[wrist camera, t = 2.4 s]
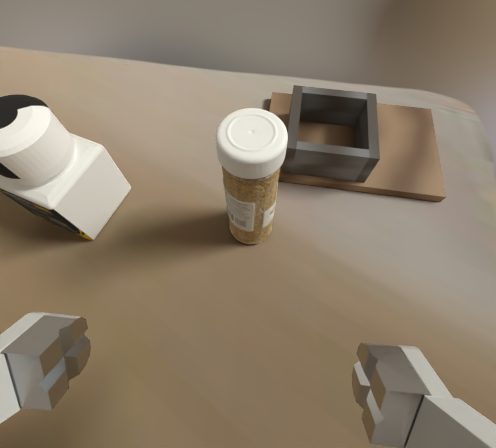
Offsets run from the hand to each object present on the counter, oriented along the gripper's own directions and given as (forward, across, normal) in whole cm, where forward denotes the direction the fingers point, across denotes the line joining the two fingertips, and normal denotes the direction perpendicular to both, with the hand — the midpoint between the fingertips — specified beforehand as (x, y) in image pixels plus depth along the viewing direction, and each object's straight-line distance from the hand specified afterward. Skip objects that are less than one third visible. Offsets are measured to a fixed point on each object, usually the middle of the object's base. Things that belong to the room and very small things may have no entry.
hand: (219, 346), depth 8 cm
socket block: (+29, -11, -5) cm, 32 cm away
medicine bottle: (+22, +18, +3) cm, 28 cm away
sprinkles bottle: (+21, 0, +4) cm, 21 cm away
